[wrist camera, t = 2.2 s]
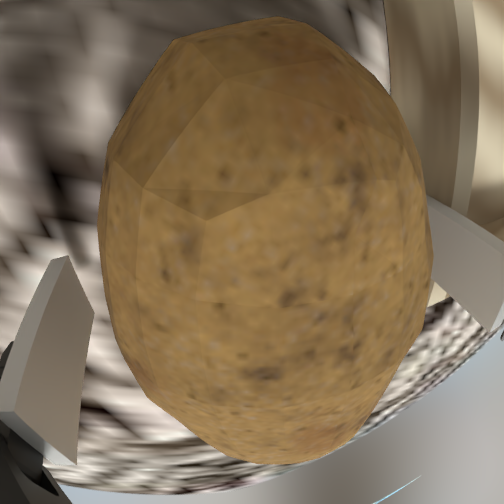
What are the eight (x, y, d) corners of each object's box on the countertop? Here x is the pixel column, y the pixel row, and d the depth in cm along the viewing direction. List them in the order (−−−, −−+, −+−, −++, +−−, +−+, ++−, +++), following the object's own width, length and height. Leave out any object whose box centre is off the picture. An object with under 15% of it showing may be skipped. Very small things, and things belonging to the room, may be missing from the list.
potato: (338, 42, 10) (525, 40, 3) (338, 319, 17) (414, 431, 10) (74, 80, 8) (-84, 88, 1) (168, 365, 15) (190, 508, 9)
